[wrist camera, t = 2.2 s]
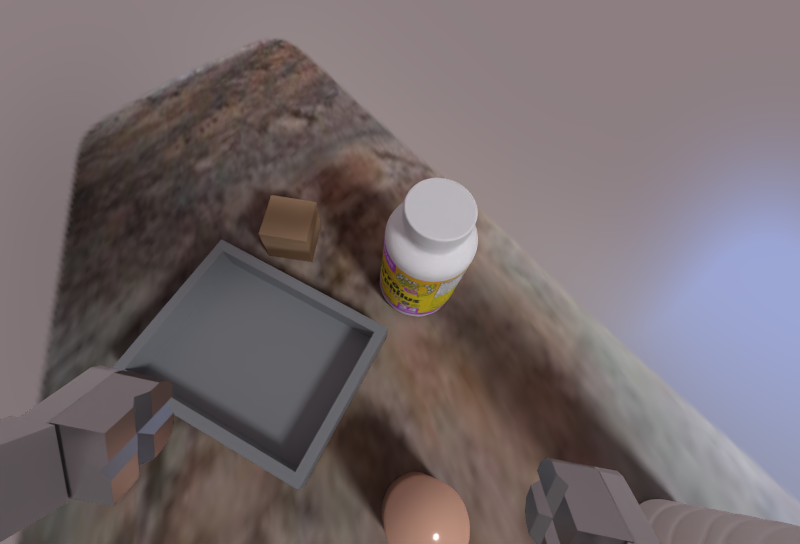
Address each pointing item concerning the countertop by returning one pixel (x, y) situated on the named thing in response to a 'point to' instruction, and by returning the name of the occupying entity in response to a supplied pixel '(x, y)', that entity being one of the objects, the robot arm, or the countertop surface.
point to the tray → (258, 360)
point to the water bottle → (713, 525)
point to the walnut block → (290, 228)
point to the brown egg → (424, 512)
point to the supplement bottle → (428, 246)
